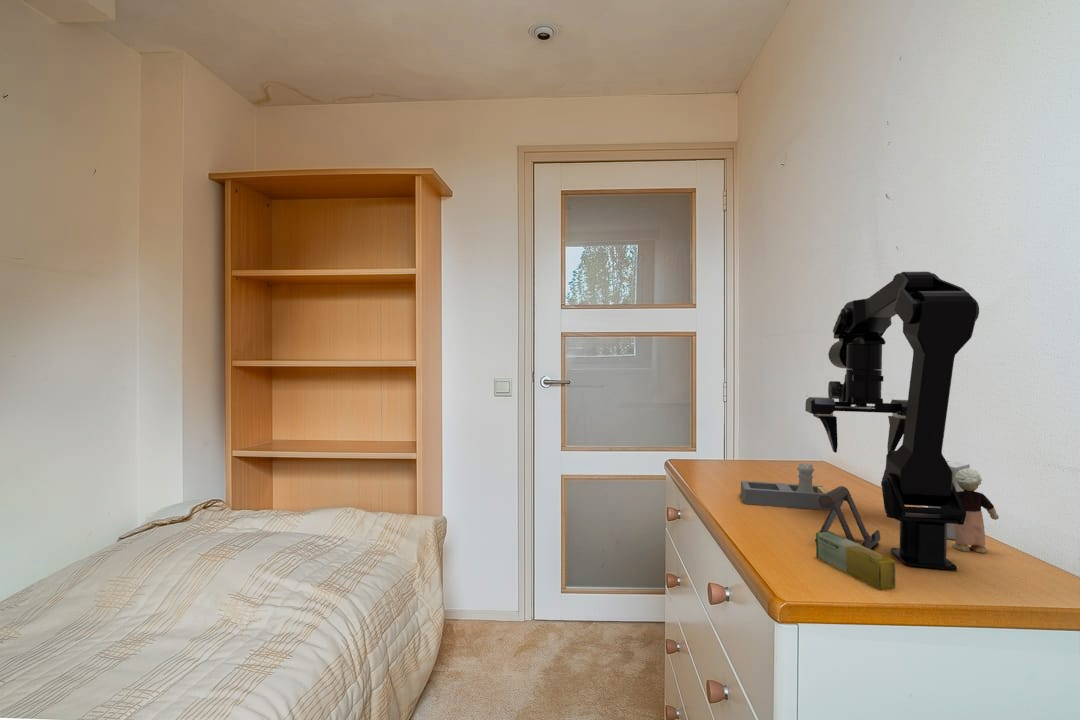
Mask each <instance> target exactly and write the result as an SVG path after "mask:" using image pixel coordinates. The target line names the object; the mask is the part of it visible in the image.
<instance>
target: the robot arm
mask: <svg viewBox="0 0 1080 720" xmlns="http://www.w3.org/2000/svg"><path fill="white" fill-rule="evenodd" d="M979 314H980V306H979V303H978V301H977V300H976V299H975V298H974V297H973V296H972V295H971V294H970V293H969V291H966V290H965V289H964V288H963V287H961V286H959V285H956V284H953V283H952V282H948V281H945V280H944V279H942V278H940V277H939V276H938V275H936V273H933V272H930V271H901V272H900V273H896V274H895V275H894V276H893V279H892V280H890V281H889V282H888V283H887V284H885V285H884V286H883V287H881V288H880V289H878V291H876V292H875V293H873V294H872V295H870V296H869V297H867V298H861V299H856V300H855V299H854V300H851V301H849V302H846V303H845V304H844V306H843V308H841V310H840V313H839V314H838V316H837V318H836V321H835V325H834V326H833V329H832V332H833V339H835V340H837V339H838V341H836V342H834V343H833V344H832V345H831V346H830V348H829V351H828V354H827V355H828V359H829V361H830V363H831V365H833V366H834V367H837V368H839V369H846V371H845V374H844V380H843V381H844V382H843V383H841V381H837V380H836V381H833V380H832V381H831V380H830V381H829V382H828V389H827V390H828V392H827V393H828V397H823V396H822V397H819V396H818V397H816V396H809V397H807V398H806V399H805V409H804V410H805V412H807V413H809V414H812V416H813V417H814V418H817V419H819V420H820V422H821V423H822V425H823V427H824V430H825V431H826V435H827V437H828V440H829V441H828V442H829V444H830V446H831V449H832V452H833V453H837V452H838V422H837V421H838V420H837V419H838V418H837V416H835V415H834V412H853V413H854V412H855V413H858V412H859V413H860V412H861V413H882V414H888V413H890V414H891V415H888V417H887V418H888V423H889V424H888V425H889V427H888V428H889V429H888V439H887V453H886V457H885V469H884V472H883V476H882V478H881V482H880V483H881V484H880V487H881V493H882V499H883V507H884V509H885V514H886V517H887V518H888V519H889V518H890V519H894V520H896V521H898V522H899V547H890V552H891V553H892V554H893V555H894V556H895V557H896V558H897V559H898V560H900V562H902V563H903V564H904V565H906V566H909V567H910V566H911V567H920V568H932V569H942V570H952V571H957V570H958V566H957V565H956V564H955V563H954V562H952V561H951V560H949V559H948V558H947V549H948V548H947V546H948V545H947V544H948V542H947V541H948V538H947V523H949V524H959V525H963V524H964V521H965V517H966V511H965V508H964V506H963V504H962V502H961V500H960V498H959V495H958V493H957V491H956V489H955V487H954V485H953V482H952V479H953V472H952V470H951V468H950V467H949V465H948V463H947V462H946V461H947V460H946V458H945V456H944V455H943V447H944V437H945V430H946V423H947V416H948V415H947V414H948V407H949V400H950V394H951V385H952V379H953V370H954V363H955V357H956V355H957V353H959V352H960V350H962V348H963V347H965V345H966V344H967V343H968V342H969V341H970V340H971V339H972V337H973V333H974V329H975V326H976V321H977V320H978V318H979ZM896 315H897V316H898V317H899V319H900V320H902V333H903V335H904V337H905V339H906V340H907V342H908V344H909V345H910V347H911V348H912V352H913V354H912V355H913V356H912V361H911V363H912V364H911V369H910V380H909V388H908V395H907V396H908V397H907V399H891V401H890V403H889V402H884V398H882V383H883V382H884V375H883V370H882V369H883V368H882V367H883V345H886V340H885V339H884V337H883V335H884V334H885V332H886V331H887V329H888V328H889V327H890V326H892V318H893V317H894V316H896ZM835 399H836V400H838V401H835ZM902 438H903V439H902ZM901 440H902V444H901V445H900V447H899V448H897V446H898V445H899V443H900V441H901ZM896 448H897V449H896ZM928 506H933V507H940V508H928Z"/></svg>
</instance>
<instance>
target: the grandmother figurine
mask: <svg viewBox="0 0 1080 720" xmlns="http://www.w3.org/2000/svg"><path fill="white" fill-rule="evenodd" d="M955 479H956V482H957V483H958V484H959V486H960V488H961V489H963V490H964V491H959V492H957V493H958V495H959V498H960V500H961V502H962V504H963V506H964V508H965V511H966V517H965V521H964V524H963V525H959V524H955V542H954V543H953V544H952V548H954V549H956V550H958V551H960V552H966V553H968V552H971V550H972V551H973V552H975V553H981V554H986V553H987V552H988V549H987V547H986V532H985V524H984V523H985V522H984V518H983V512H982V508H983V509H984V510H986V511H987V513H988V514H989V517H990V518H991V519H992V520H995V521H997V520H999V517H1000V516H999V514H998V513H997V510H996V509H995V506H994V505H993V503H992V502H991V501H990V499H988V497H987V496H986V495H985V494H984V493H982V492H979V491H976V490H978V488H979V486H980V485H982V481H983V479H982V477H981V474H980V473H979V472H978V470H976V469H973V468H971V467H970V468H965V469H962V470H959V472H957V474H956V475H955ZM969 546H970V547H969Z"/></svg>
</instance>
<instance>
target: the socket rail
mask: <svg viewBox="0 0 1080 720" xmlns="http://www.w3.org/2000/svg"><path fill="white" fill-rule="evenodd" d="M798 484H799V483H797V484H796V483H781V482H767V481H766V482H765V481H753V480H752V481H751V480H750V481H749V480H740V496H741V499H742V498H743V499H742V500H743V504H745V505H751V504H755V505H754V506H765V505H768V506H767V507H780V508H781V507H782V508H794V509H805V510H807V509H808V510H819V511H820V510H821V511H830V509H825V508H822V507H821V506H820V504H819V497H820V496H822V495H824V494H826V493H828V492H829V491H828V490H827V489H826V488H825V487H824V486H823V485H813V484H812V485H813V491H814V492H815V493H813V492H798V491H796V490H797V489H798ZM756 504H757V505H756Z"/></svg>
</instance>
